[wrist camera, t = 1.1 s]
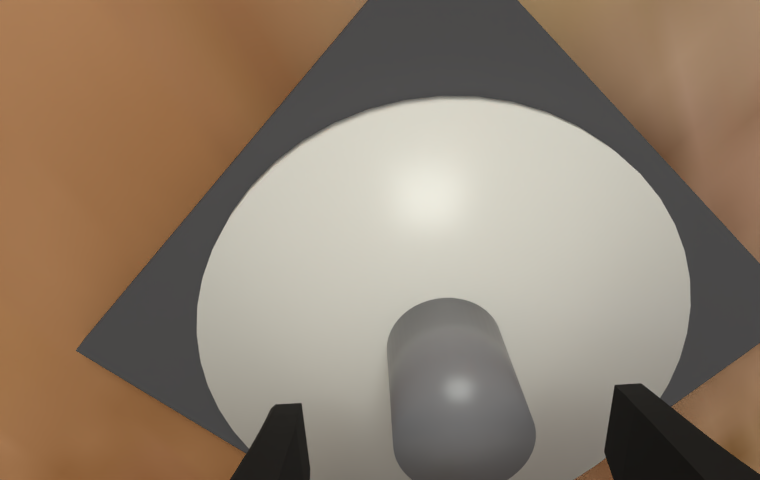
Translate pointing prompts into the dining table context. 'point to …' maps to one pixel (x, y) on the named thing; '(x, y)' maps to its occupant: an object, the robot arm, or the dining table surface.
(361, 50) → the rubber mat
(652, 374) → the white lid
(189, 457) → the dining table surface
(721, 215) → the dining table surface
